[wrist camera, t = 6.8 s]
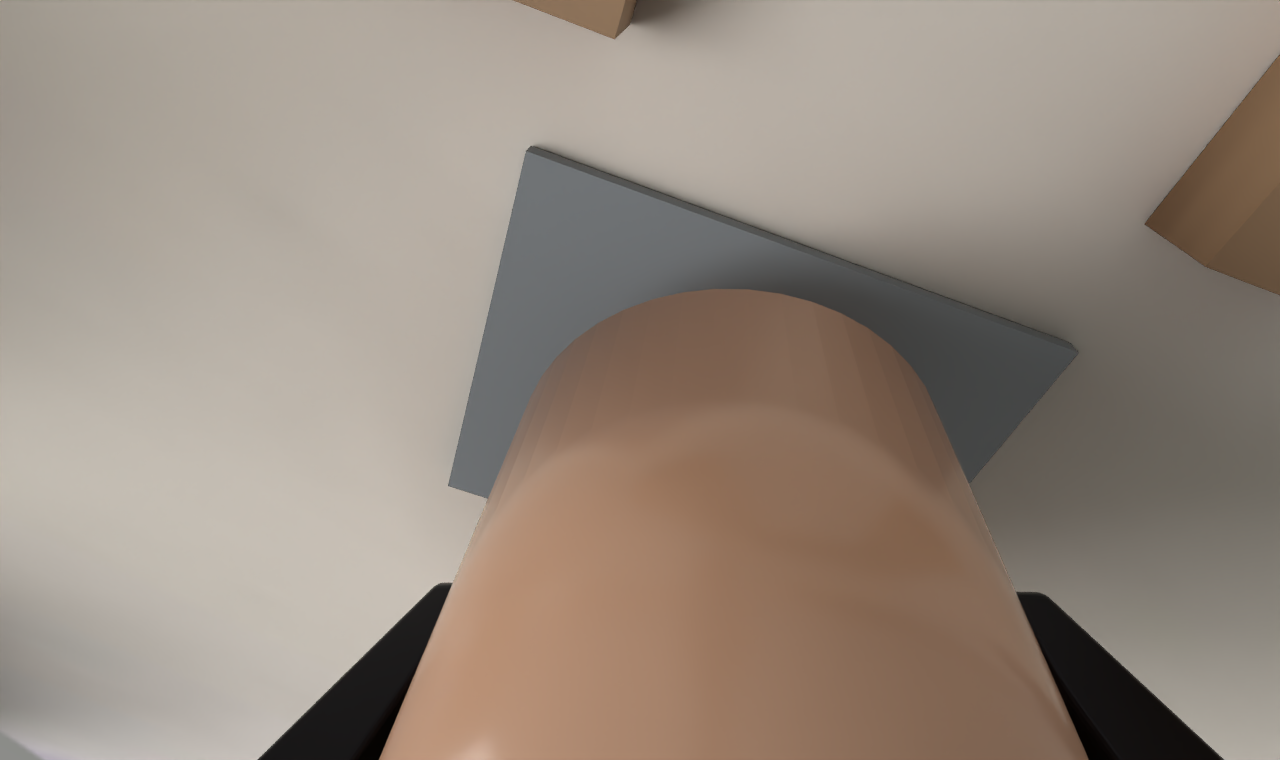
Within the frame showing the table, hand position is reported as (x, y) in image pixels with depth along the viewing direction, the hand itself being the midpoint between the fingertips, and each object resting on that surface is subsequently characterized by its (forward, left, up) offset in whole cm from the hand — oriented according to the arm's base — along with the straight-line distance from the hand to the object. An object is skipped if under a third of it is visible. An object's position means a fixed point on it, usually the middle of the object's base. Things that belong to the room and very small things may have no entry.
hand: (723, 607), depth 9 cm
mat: (0, 0, -4) cm, 4 cm away
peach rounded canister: (+1, +1, -3) cm, 3 cm away
